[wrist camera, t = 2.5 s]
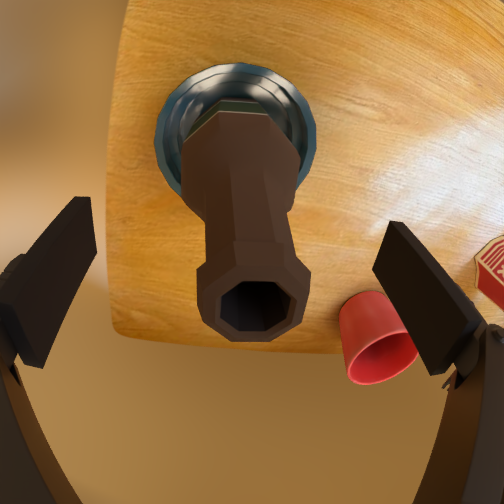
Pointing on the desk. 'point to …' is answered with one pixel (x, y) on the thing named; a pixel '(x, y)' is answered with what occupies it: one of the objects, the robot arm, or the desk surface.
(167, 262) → the desk surface
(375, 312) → the flower pot
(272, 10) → the desk surface
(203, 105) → the bowl
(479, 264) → the milk carton
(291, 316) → the beer bottle
